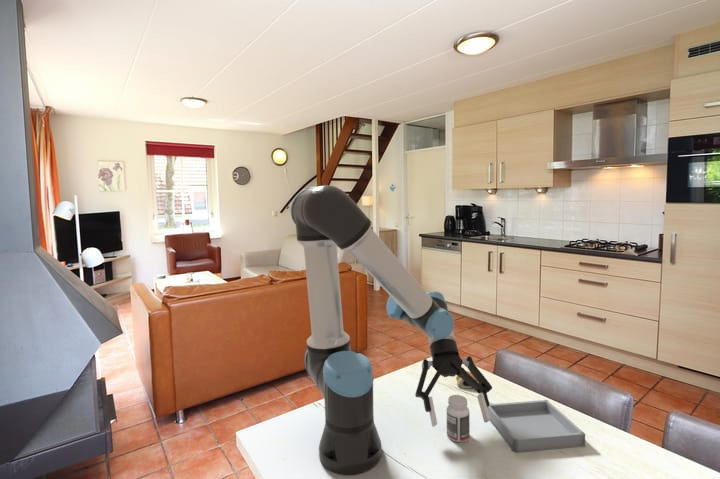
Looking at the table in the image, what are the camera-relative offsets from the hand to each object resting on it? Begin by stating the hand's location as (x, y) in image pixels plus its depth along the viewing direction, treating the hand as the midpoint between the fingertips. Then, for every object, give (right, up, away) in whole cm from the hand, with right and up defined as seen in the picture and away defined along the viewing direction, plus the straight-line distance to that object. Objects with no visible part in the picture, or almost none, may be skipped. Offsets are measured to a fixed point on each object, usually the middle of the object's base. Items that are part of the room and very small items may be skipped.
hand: (461, 423), depth 95 cm
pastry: (+10, -2, +31) cm, 32 cm away
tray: (+20, -4, +5) cm, 21 cm away
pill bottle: (0, -5, +3) cm, 6 cm away
